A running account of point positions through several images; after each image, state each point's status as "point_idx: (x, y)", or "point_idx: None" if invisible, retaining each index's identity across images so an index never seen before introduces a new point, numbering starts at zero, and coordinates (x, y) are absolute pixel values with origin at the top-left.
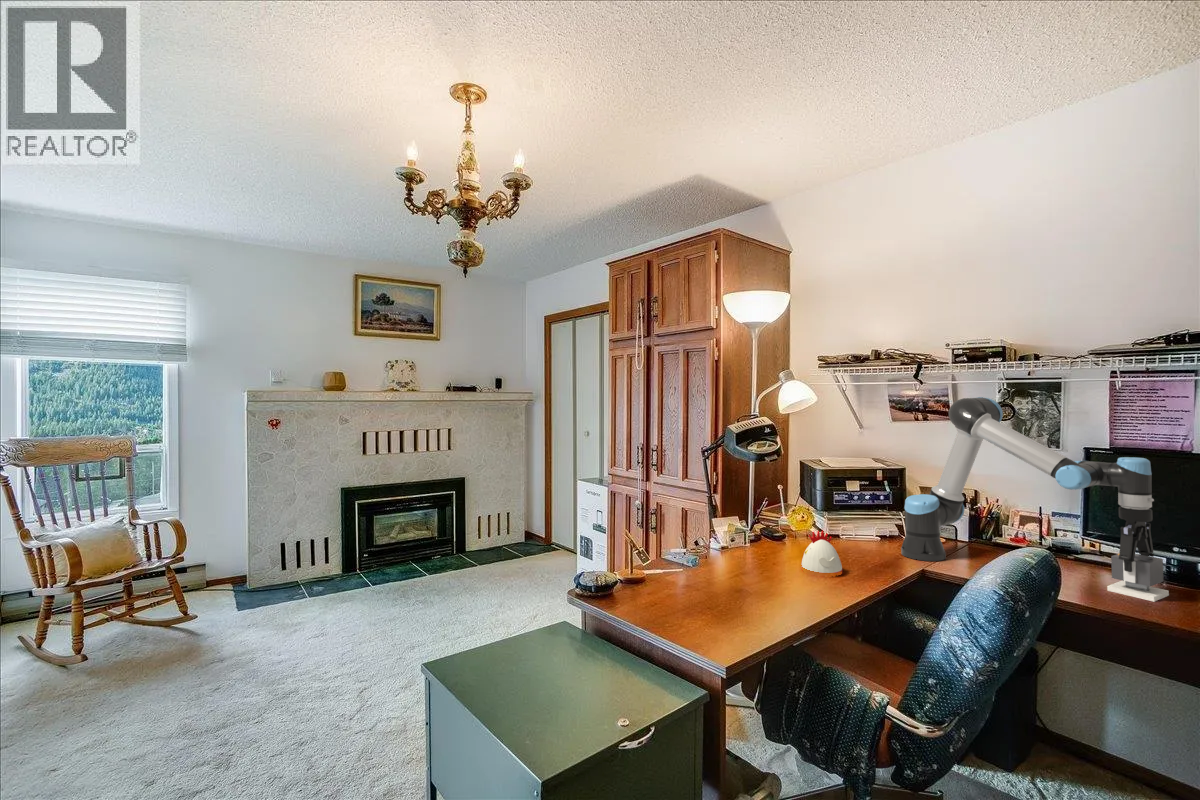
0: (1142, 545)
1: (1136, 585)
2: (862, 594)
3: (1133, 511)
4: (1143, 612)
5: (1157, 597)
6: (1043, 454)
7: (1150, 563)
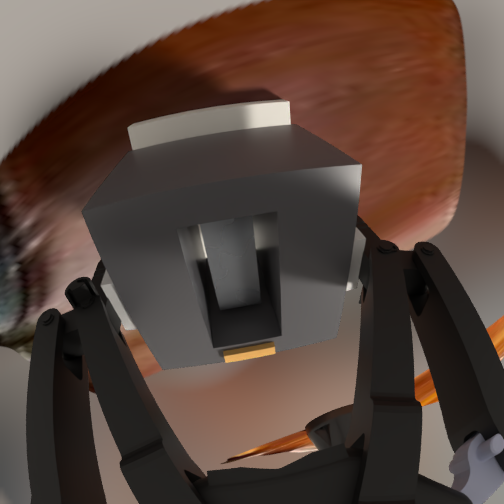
0: (136, 379)
1: None
2: None
3: None
4: (425, 83)
5: (251, 103)
6: None
7: (341, 164)
